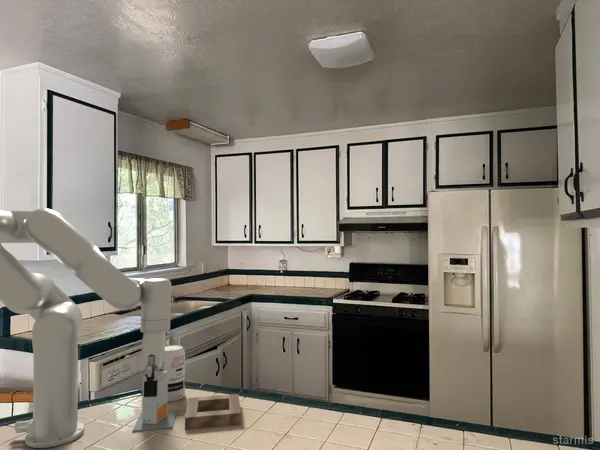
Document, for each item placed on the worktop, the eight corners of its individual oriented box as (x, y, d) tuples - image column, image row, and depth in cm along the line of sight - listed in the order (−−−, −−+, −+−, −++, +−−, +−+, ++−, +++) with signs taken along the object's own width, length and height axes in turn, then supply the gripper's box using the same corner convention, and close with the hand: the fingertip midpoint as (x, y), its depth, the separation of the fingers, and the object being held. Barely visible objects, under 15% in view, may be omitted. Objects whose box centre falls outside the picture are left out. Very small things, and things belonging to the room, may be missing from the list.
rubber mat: (132, 432, 105) (132, 430, 105) (140, 414, 116) (140, 413, 116) (172, 428, 107) (172, 426, 107) (176, 411, 117) (176, 410, 117)
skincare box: (156, 425, 108) (156, 377, 108) (141, 423, 109) (141, 376, 109) (168, 415, 114) (168, 370, 114) (154, 414, 115) (154, 369, 115)
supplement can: (164, 392, 133) (164, 344, 133) (189, 393, 132) (189, 345, 132) (151, 402, 125) (152, 351, 125) (178, 403, 124) (178, 351, 124)
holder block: (184, 429, 106) (184, 417, 106) (188, 408, 120) (188, 397, 120) (240, 424, 108) (240, 412, 109) (238, 404, 122) (238, 393, 122)
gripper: (146, 319, 120) (144, 380, 119) (134, 331, 103) (131, 402, 102) (173, 319, 121) (171, 379, 120) (166, 331, 104) (163, 401, 104)
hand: (153, 390), depth 111 cm, fingers open, 9 cm apart
